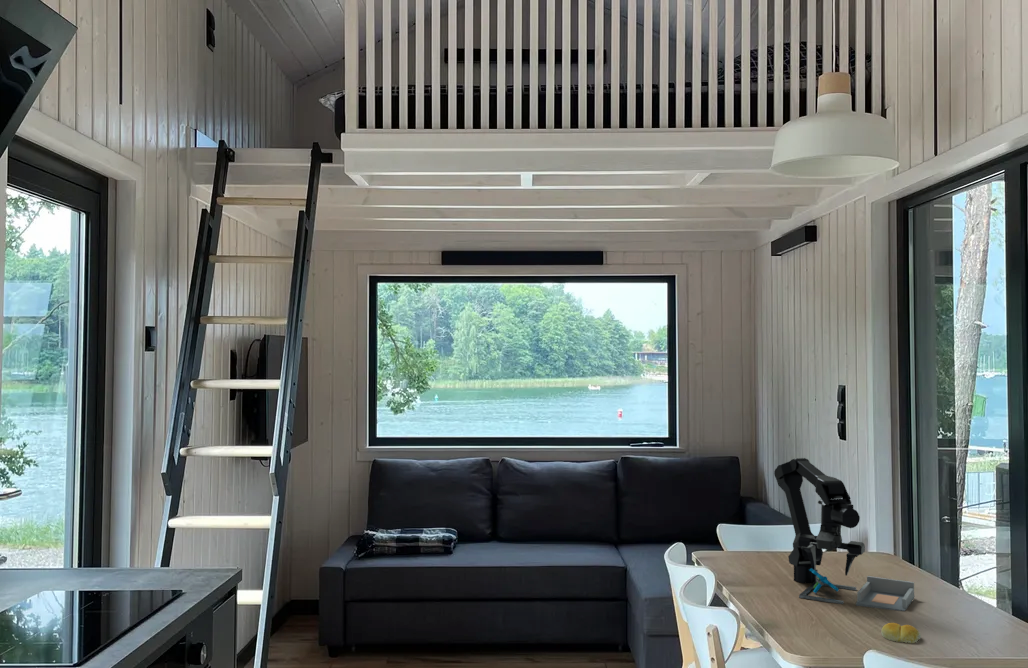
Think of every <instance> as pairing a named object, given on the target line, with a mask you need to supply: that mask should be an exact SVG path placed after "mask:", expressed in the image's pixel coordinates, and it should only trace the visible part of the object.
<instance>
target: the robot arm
mask: <svg viewBox="0 0 1028 668" xmlns="http://www.w3.org/2000/svg"><path fill="white" fill-rule="evenodd" d="M773 474H774V477H775V480H776V482H777V485H778V487H779V488H780V489H781V490H782V491H783V492H784V493H785V498H786V502H787V504H788V505H787V506H788V510H789V514H790V517H791V518H790V519H791V520H792V522H791V523H792V526H793V529H794V530H793V531H794V534H795V535H794V539H793V542H792V549H793V550H792V551H791V552H790V554H789V555H788V562H789V564H790V565H791V566H793V582H797V583H800V584H807V585H811V584H812V583H813V582H815V581H816V580H817V579H819V578H817V576H816V575H815V574H813V573H812V572H811V571H810V569H811V568H812V569H813V570H815V571H816V572H818V571H819V570H818V569H817V566H821V565H822V559H823V554H824V552H823V550H827V551H831V552H832V551H834V550H835V549H841V550H847V553H846V554H845V556H846V562H845V569H844V571H845V572H844V573H845V574H844V575H845V576H848V575H849V572H850V569H851V568H852V567H851V566H852V564H853V562H854V560H855V558H858V557H859V556H862V555H863V554H864V553H865V552H866V545H865V543H864V542H863V541H861V542H860V541H853V540H850V541H849V542H843V538H842V537H843V536H842V527H844V528H845V527H846V528H848V529H855V527H856V526H858V525H859V523H860V521H861V520H860V518H861V517H860V514H859V512H858V511H857V510H856V509H854V504H852V500H851V497H850V495H849V493H848V491H847V488H846V485H845V484H844V482H843V481H842V479H838V478H837V477H833V476H829V475H827V474H825V473H824V472H822V471H821V470H820V469H819V468H817V467H816V466H815V465H814V464H813V463H811V462H810V460H809V459H808V458H805V457H800V458H799V457H797V458H796V457H795V458H793V459H791V460H790V461H787V462H783V463H782V464H778V465H777V467H776V468H775V469H774V473H773ZM803 478H805V480H806V481H808V482H809V483H810V484H812V485H813V486H814V488H815V489H814V490H815V491H814V492H815V493H816V494H817V496H818V497H820V499H819V500H818V502H817V503H818V504H819V505H821V506H820V508H821V513H820V514H821V515H820V517H821V518H820V526H819V531H818V533H817V535H815V534H813V533H812V530H811V527H810V522H809V518H808V515H807V510H806V506H805V503H804V499H803V495H802V491H801V487H802V485H803V482H804V479H803ZM818 573H819V572H818Z"/></svg>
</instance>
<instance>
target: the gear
mask: <svg viewBox="0 0 1028 668" xmlns="http://www.w3.org/2000/svg"><path fill="white" fill-rule="evenodd" d="M810 571H811V572H812V573H813V574H815V575H816V576H817V578H818V579H817V580H816V581H817V583H816V584H815V585H814V587H813V590H812V591H813V593H814V594H817V593H818V592H819V590H820V589H821V588H822V587H824V586H823V585H824V584H825V583H826V584H828V585H829V586H830V588H832V589H833V590H834V591H836V592H839V590H840V588H837V587H836V586H835V585H833V584H834V583H832V582H831V581H830V580H829V579H828V577H827V576H825V575H822V574H821V573H820V572H816V571H815V570H813V569H812V568H811V569H810Z"/></svg>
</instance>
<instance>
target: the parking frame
mask: <svg viewBox="0 0 1028 668" xmlns="http://www.w3.org/2000/svg"><path fill="white" fill-rule="evenodd" d="M816 583H817V581H815V582H813V583H812V584H811V583H810V584H809V586H808V587H807V588H805V589H804V590H803V591H802V592H801V593H799V595H798V598H799V599H805V600H812V601H818V602H822V603H823V602H825V603H831V604H839V605H844V602H845V601H844V600H839V599H832V598H828V597H827V598H825V597H821V596H812V595H808V594H809V593H810V592H812V591H813V590H814V588H813V587H814V585H815V584H816ZM832 584H833V585H835V586H836V587H837V588H838V589H843V590H849V591H857V586H850V585H844V584H843V585H842V584H836V583H832ZM822 587H830V586H829V585H828V584H826V583H825V584H824V585H823V586H822ZM830 588H831V587H830Z"/></svg>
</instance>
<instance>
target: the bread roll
mask: <svg viewBox="0 0 1028 668" xmlns="http://www.w3.org/2000/svg"><path fill="white" fill-rule="evenodd" d="M881 636H882V637H883V638H884V639H886V640H888V641H891V642H895V641H896V642H897V643H903V642H905V643H904V644H916V643H918V642H919V641H920V640H921V637H922V634H921V632H919V630H918V629H917V628H916V627H915V626H913V625H910V624H904V625H901V624H899V623H896V622H889V623H886V624H884V625H883V626H882V628H881ZM919 639H920V640H919ZM918 640H919V641H918ZM917 641H918V642H917ZM907 642H908V643H907ZM915 642H916V643H915Z"/></svg>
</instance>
